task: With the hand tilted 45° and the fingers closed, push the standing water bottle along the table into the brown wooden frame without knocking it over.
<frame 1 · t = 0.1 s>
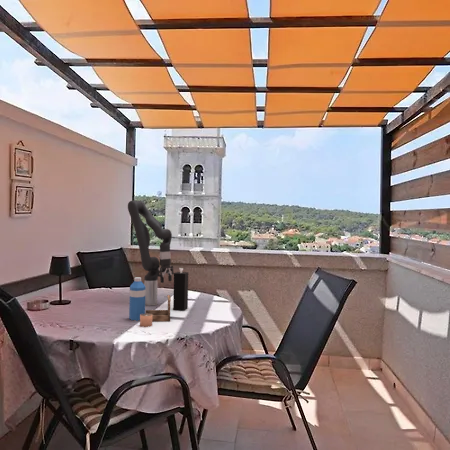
hand: (166, 281, 292), 17 cm above the table, tool pointing down, fingers open, 8 cm apart
clay pot: (146, 325, 244), on the table
brown wooden frame: (157, 318, 260), on the table
black square pillar: (180, 309, 286), on the table
water bottle: (137, 319, 258), on the table
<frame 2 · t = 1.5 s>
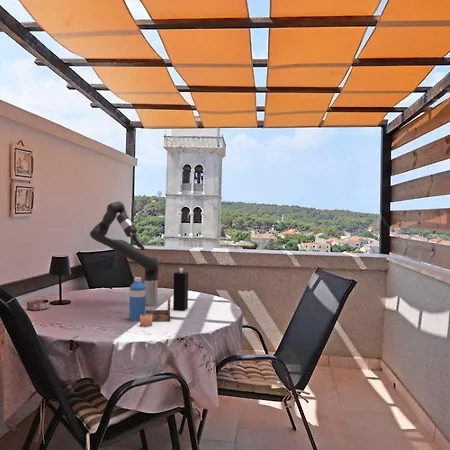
hand: (141, 248, 267), 42 cm above the table, tool tilted 40°, fingers open, 8 cm apart
nothing on the table moved.
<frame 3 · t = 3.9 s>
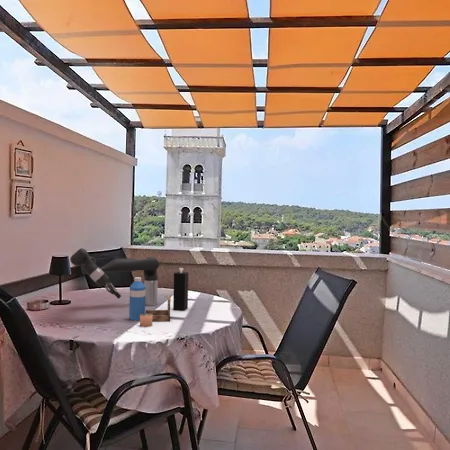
hand: (119, 297, 256), 13 cm above the table, tool tilted 45°, fingers closed
nothing on the table moved.
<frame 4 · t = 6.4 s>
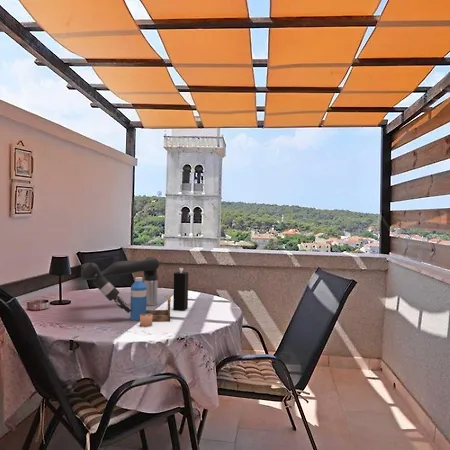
hand: (129, 311, 256), 5 cm above the table, tool tilted 45°, fingers closed
water bottle: (138, 319, 258), on the table, touching gripper
everything else where it was.
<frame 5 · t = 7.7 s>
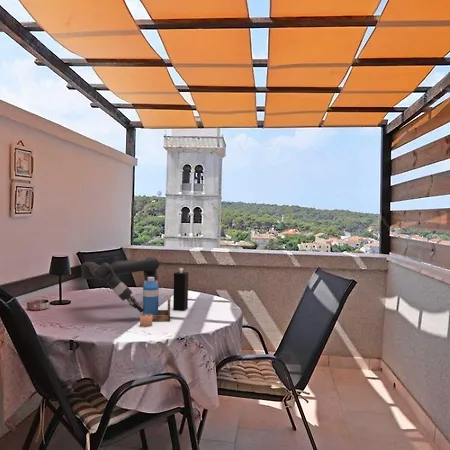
hand: (142, 311, 257), 5 cm above the table, tool tilted 45°, fingers closed
water bottle: (150, 318, 260), on the table, touching gripper
everything else where it was.
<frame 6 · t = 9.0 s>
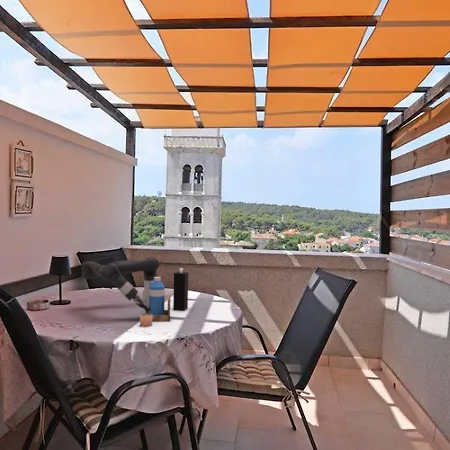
hand: (148, 310, 259), 5 cm above the table, tool tilted 45°, fingers closed
water bottle: (156, 318, 262), on the table, touching gripper
everything else where it was.
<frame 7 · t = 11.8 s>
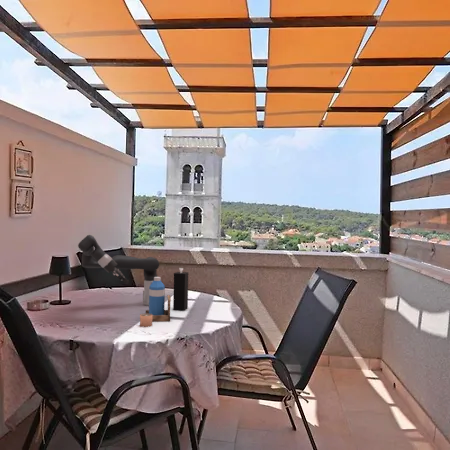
hand: (128, 283, 257), 22 cm above the table, tool tilted 45°, fingers closed
water bottle: (156, 318, 262), on the table
everything else where it was.
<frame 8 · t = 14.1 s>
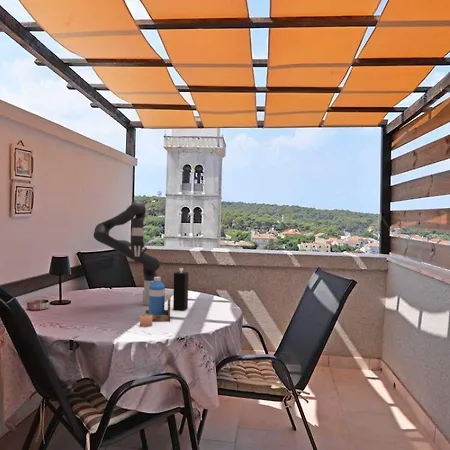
hand: (137, 262, 268), 33 cm above the table, tool pointing down, fingers closed
nothing on the table moved.
at the end: water bottle 1.6 cm off-centre on the brown wooden frame, point 0.0 cm above the brown wooden frame's base; water bottle tilted 0° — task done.
